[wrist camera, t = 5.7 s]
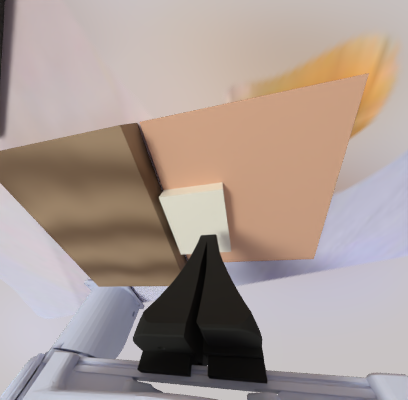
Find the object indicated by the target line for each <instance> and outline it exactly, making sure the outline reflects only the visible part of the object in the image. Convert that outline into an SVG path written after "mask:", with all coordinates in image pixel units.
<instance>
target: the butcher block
mask: <svg viewBox="0 0 408 400" xmlns="http://www.w3.org/2000/svg"><path fill="white" fill-rule="evenodd" d="M0 183H1V184H2V185H3V186H4V187H5V188H6V189H7V190H8V192H9V193H10V194H11V195H12V196H13V197H14V198H15V199H16V200H17V201H18V202H19V203H20V204H21V205H22V206H23V207H24V208H25V209H26V211H27V212H28V213H29V214H30V215H31V216H32V217H33V218H34V219H35V220H36V221H37V222H38V223H39V224H40V225H41V226H42V227H43V228H44V230H45V231H46V232H47V233H48V234H49V235H50V236H51V237H52V238H53V239H54V240H55V241H56V242H57V243H58V244H59V245H60V246H61V247H62V249H63V250H64V251H65V252H66V253H67V254H68V255H69V256H70V257H71V258H72V259H73V260H74V261H75V262H76V263H77V264H78V265H79V266H80V268H81V269H82V270H83V271H84V272H85V273H86V274H87V275H88V276H89V277H90V278H91V279H92V280H93V281H94V282H95V283H96V284H97V286H98V287H118V286H170V284H171V283H172V282H173V281H174V280H175V278H176V277H177V276H178V274H179V273H180V272H181V270H182V269H183V267H184V266H185V264H186V263H187V260H186V258H185V255H184V254H182V255H181V253H180V251H179V248H178V246H177V243H176V241H175V238H174V235H173V233H172V230H171V228H170V225H169V223H168V220H167V218H166V215H165V212H164V210H163V207H162V205H161V202H160V200H159V196H160V195H161V193H162V191H161V188H160V186H159V183H158V180H157V177H156V175H155V172H154V169H153V166H152V164H151V161H150V158H149V155H148V152H147V150H146V147H145V144H144V141H143V139H142V136H141V133H140V130H139V128H138V125H137V123H133V124H125V125H119V126H114V127H109V128H105V129H100V130H95V131H91V132H86V133H81V134H77V135H72V136H67V137H63V138H58V139H53V140H49V141H44V142H39V143H35V144H30V145H25V146H21V147H16V148H11V149H7V150H2V151H0Z"/></svg>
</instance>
